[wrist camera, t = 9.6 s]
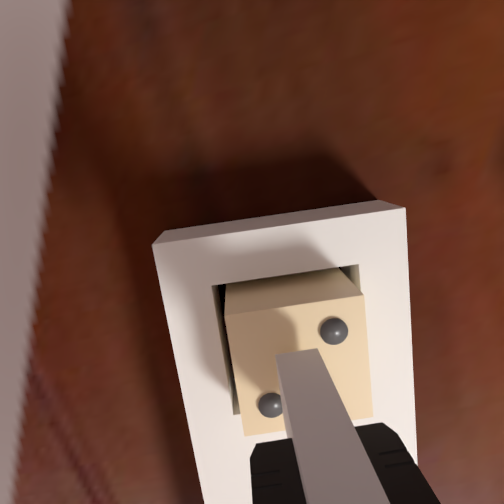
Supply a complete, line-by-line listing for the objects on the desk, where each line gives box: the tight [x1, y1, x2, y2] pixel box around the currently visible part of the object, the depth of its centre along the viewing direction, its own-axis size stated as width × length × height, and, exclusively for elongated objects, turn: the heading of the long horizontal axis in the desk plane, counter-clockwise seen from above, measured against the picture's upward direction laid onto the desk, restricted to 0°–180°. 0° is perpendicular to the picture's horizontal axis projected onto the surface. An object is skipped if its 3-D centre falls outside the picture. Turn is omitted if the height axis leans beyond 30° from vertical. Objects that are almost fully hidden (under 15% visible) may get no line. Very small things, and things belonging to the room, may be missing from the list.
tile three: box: [224, 268, 373, 437], centre depth 16 cm, size 5×5×4 cm
